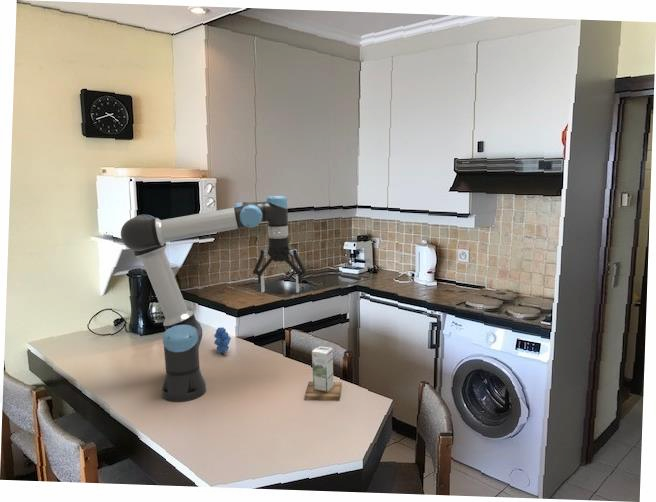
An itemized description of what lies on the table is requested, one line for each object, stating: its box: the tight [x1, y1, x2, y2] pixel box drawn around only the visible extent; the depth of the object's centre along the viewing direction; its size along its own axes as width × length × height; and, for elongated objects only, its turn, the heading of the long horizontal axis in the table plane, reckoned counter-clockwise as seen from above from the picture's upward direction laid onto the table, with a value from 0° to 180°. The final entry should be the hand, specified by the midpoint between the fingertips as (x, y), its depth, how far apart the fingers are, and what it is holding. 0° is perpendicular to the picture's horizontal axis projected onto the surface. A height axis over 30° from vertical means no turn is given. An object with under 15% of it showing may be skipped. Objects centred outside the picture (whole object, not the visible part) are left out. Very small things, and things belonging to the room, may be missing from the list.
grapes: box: [213, 326, 231, 355], centre depth 225 cm, size 12×7×12 cm, turn 37°
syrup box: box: [311, 345, 334, 392], centre depth 183 cm, size 6×6×14 cm
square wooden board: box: [303, 381, 343, 402], centre depth 184 cm, size 12×12×2 cm
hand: (280, 291), depth 201 cm, fingers open, 13 cm apart
